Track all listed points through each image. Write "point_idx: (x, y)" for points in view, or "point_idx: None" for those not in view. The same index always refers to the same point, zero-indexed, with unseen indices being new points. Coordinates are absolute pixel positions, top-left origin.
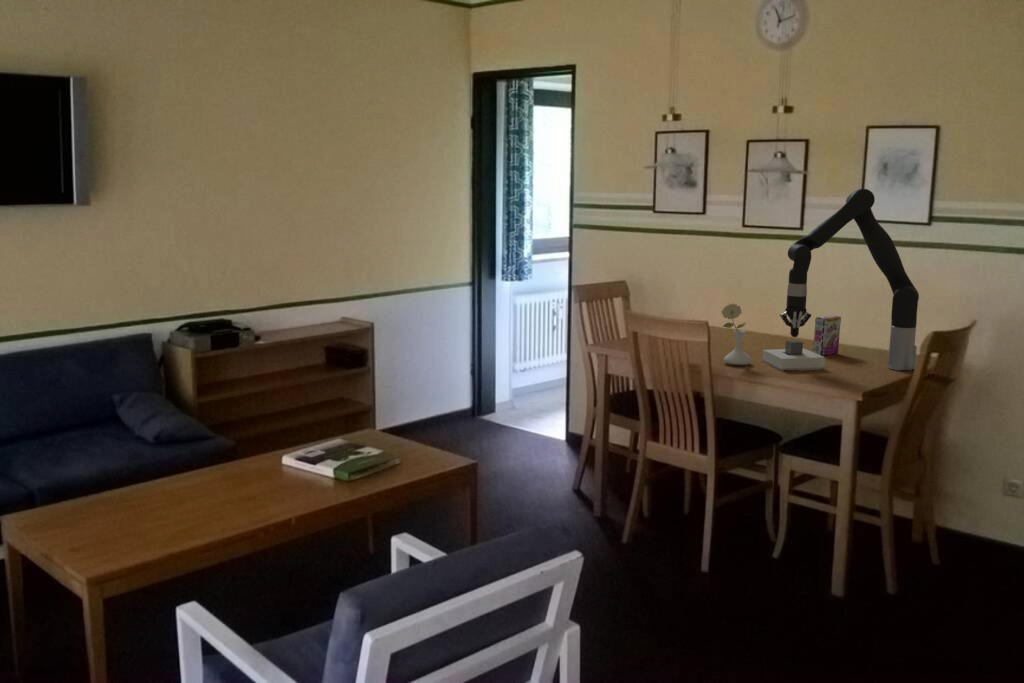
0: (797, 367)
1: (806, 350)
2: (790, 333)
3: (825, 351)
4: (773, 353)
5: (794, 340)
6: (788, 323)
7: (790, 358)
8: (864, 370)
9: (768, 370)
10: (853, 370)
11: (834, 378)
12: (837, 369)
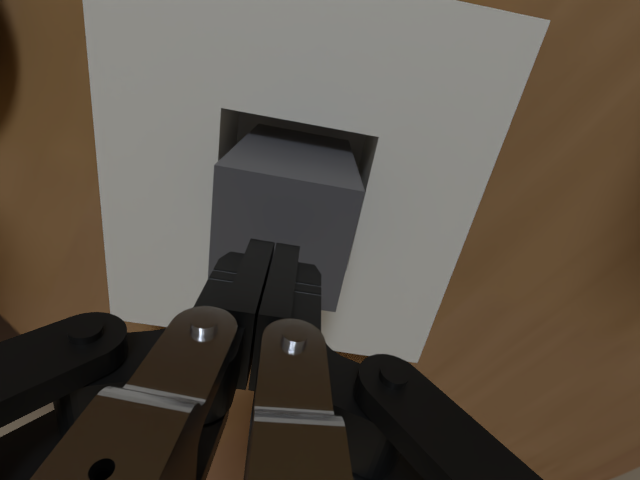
0: None
1: (488, 122)
2: (217, 262)
3: None
4: (117, 141)
5: (313, 202)
6: (29, 462)
7: None
8: (573, 377)
9: (79, 236)
10: (526, 364)
11: None
12: (471, 327)
